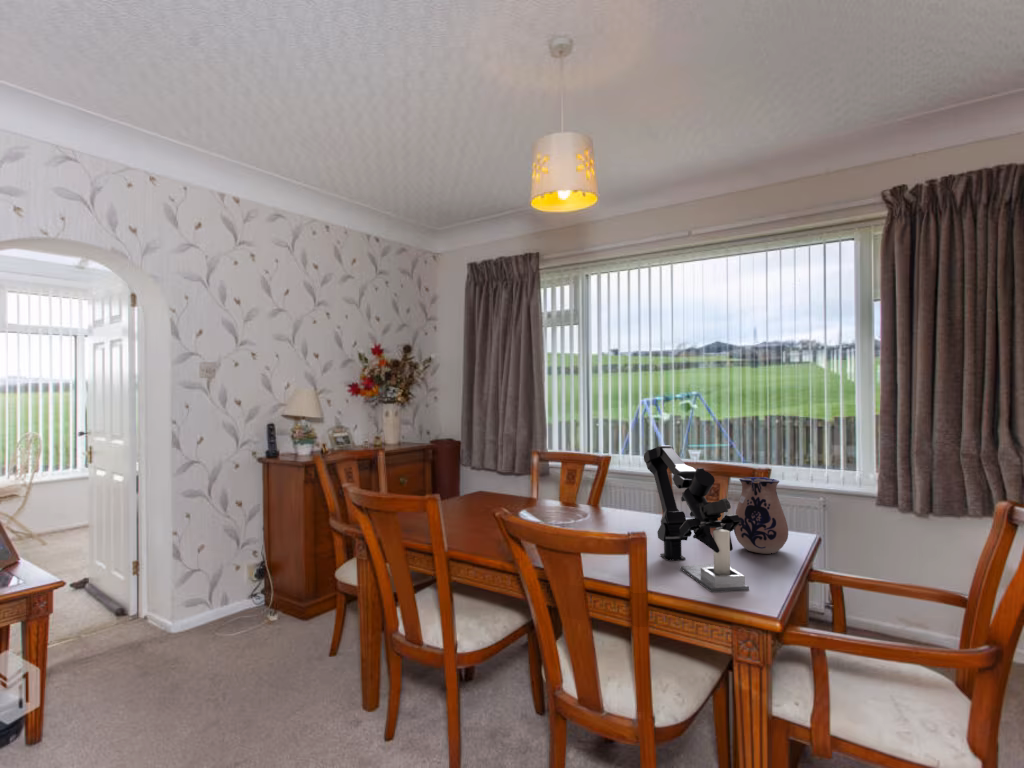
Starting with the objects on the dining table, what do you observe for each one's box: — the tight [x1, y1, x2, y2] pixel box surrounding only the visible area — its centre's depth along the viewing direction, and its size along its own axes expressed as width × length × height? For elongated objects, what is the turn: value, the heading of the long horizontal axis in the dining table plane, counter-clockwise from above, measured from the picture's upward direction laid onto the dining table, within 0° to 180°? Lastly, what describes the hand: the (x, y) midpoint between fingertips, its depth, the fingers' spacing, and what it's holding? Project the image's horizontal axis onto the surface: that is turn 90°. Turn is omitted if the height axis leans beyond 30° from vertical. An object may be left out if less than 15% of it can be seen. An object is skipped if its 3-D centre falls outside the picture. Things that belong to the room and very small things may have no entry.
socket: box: [680, 563, 750, 593], centre depth 164 cm, size 20×11×4 cm, turn 7°
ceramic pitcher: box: [733, 476, 789, 555], centre depth 195 cm, size 18×21×25 cm
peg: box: [712, 528, 731, 575], centre depth 158 cm, size 4×4×12 cm
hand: (724, 551), depth 157 cm, fingers closed on peg, 4 cm apart
